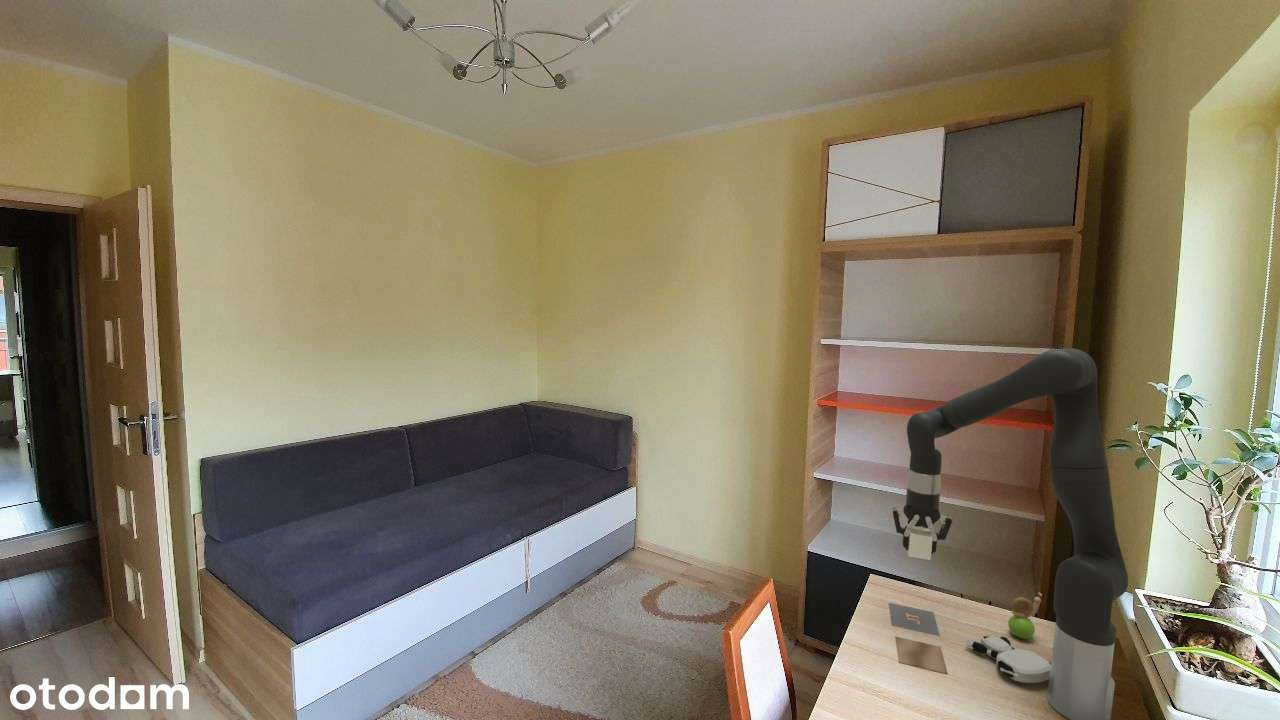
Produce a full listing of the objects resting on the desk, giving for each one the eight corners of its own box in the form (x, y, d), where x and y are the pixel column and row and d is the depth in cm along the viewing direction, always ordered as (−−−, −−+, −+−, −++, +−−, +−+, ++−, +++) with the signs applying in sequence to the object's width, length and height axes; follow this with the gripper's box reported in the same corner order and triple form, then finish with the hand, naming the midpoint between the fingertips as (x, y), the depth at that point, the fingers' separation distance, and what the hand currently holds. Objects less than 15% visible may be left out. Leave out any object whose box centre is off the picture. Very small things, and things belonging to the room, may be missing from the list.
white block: (927, 551, 137) (929, 529, 136) (930, 560, 132) (932, 537, 132) (906, 547, 139) (908, 526, 138) (908, 556, 134) (910, 534, 134)
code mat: (933, 613, 141) (933, 611, 141) (939, 637, 131) (939, 636, 131) (888, 603, 145) (888, 602, 145) (891, 626, 135) (891, 625, 135)
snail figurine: (1042, 645, 128) (1048, 599, 127) (1014, 642, 129) (1019, 596, 128) (1030, 631, 134) (1035, 587, 132) (1002, 628, 135) (1007, 584, 133)
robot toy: (960, 653, 126) (1019, 694, 112) (961, 635, 126) (1019, 674, 112) (1001, 646, 129) (1063, 685, 115) (1002, 628, 129) (1064, 665, 114)
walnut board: (940, 647, 127) (940, 646, 127) (947, 674, 118) (947, 673, 117) (895, 637, 130) (895, 636, 130) (898, 662, 121) (898, 661, 121)
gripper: (952, 487, 134) (947, 549, 136) (891, 479, 140) (887, 539, 142) (958, 497, 127) (952, 563, 129) (893, 488, 133) (889, 552, 135)
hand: (918, 550), depth 136 cm, fingers closed on white block, 5 cm apart
